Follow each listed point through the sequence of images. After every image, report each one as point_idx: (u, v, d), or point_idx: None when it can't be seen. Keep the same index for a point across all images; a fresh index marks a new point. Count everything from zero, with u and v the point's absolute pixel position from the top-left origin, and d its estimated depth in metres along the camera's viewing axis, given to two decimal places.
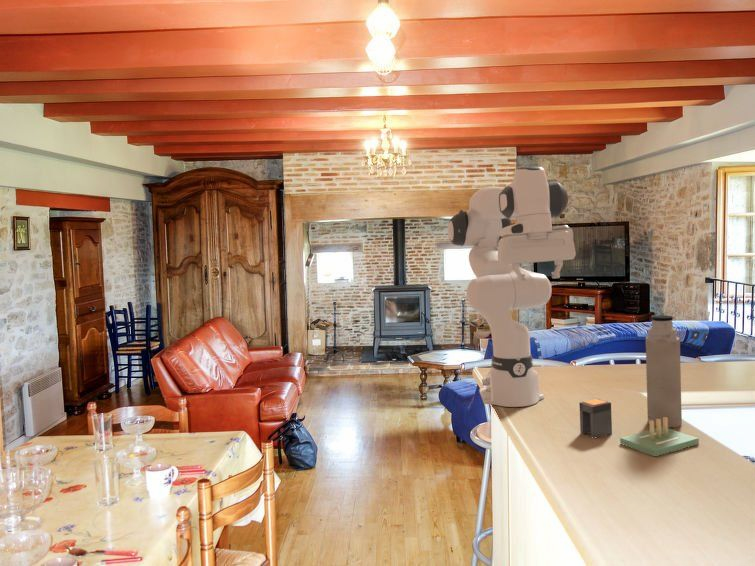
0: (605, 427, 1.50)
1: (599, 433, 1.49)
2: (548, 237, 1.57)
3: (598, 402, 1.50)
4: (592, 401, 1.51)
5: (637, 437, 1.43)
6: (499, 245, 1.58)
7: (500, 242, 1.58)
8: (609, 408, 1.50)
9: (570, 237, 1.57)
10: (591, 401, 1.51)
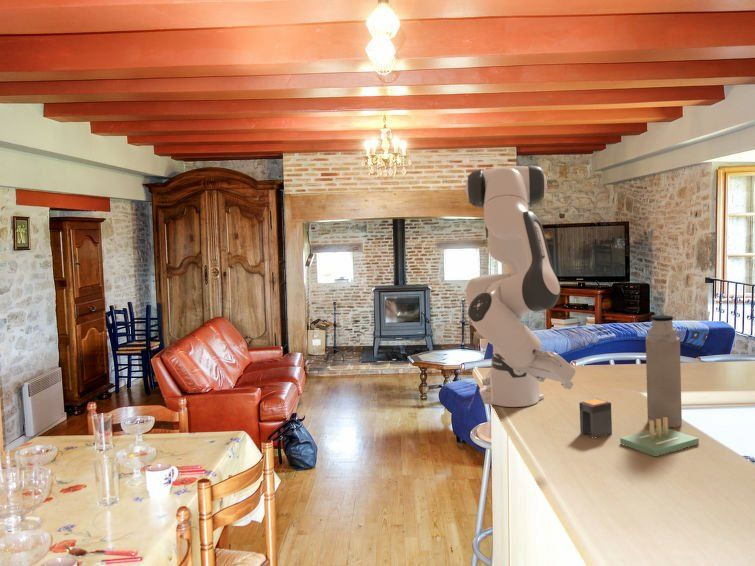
0: (605, 427, 1.50)
1: (599, 433, 1.49)
2: (533, 364, 1.38)
3: (598, 402, 1.50)
4: (592, 401, 1.51)
5: (637, 437, 1.43)
6: None
7: None
8: (609, 408, 1.50)
9: (551, 369, 1.33)
10: (591, 401, 1.51)
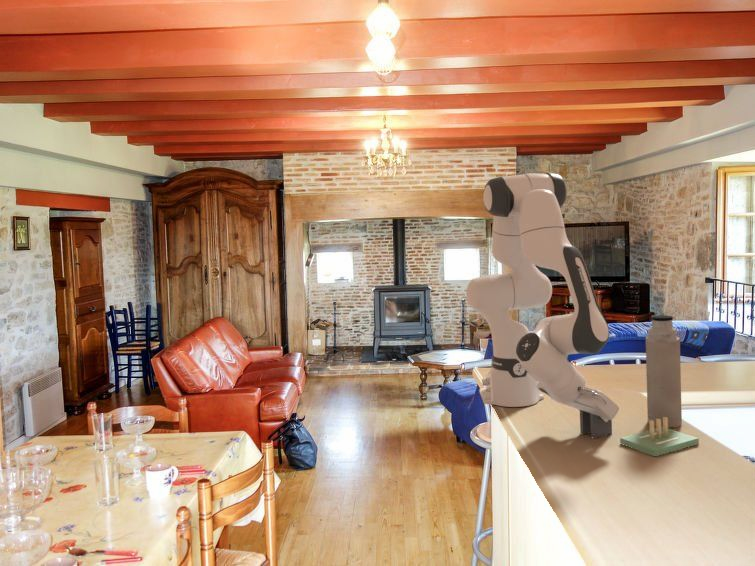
0: (605, 427, 1.50)
1: (599, 433, 1.49)
2: (577, 400, 1.45)
3: None
4: None
5: (637, 437, 1.43)
6: None
7: None
8: None
9: (597, 406, 1.39)
10: None
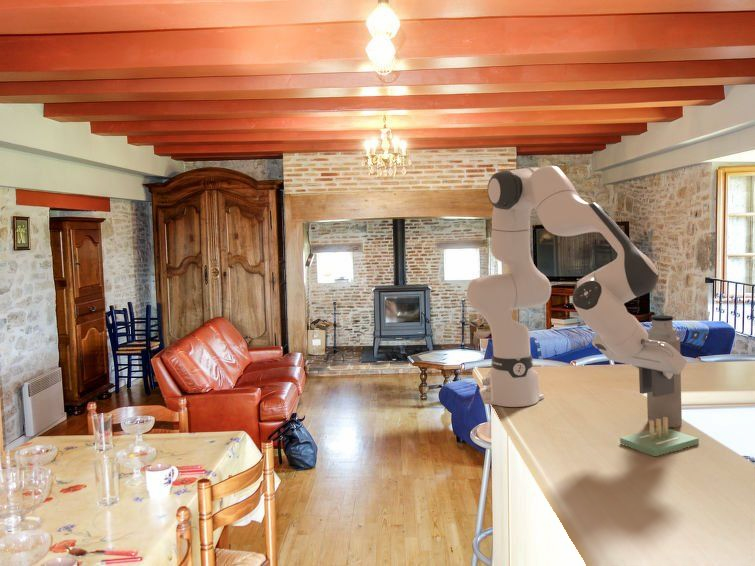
0: (667, 385, 1.39)
1: (661, 391, 1.38)
2: (639, 354, 1.34)
3: None
4: None
5: (637, 437, 1.43)
6: None
7: None
8: None
9: (663, 359, 1.29)
10: None
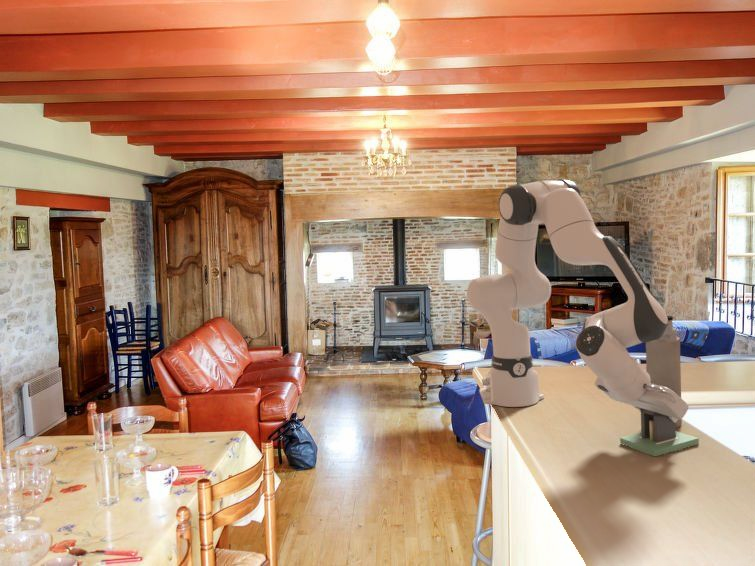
0: (669, 430, 1.40)
1: (663, 437, 1.39)
2: (641, 398, 1.35)
3: None
4: None
5: (637, 437, 1.43)
6: None
7: None
8: None
9: (665, 405, 1.30)
10: None
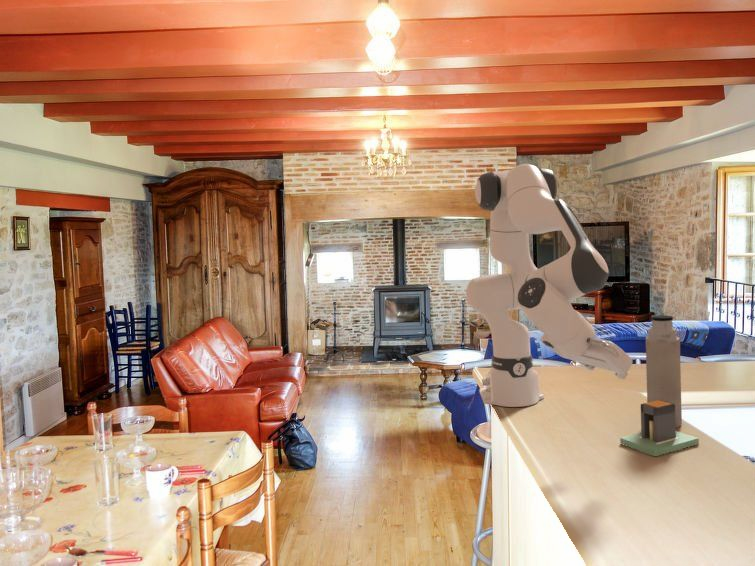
0: (669, 430, 1.40)
1: (663, 437, 1.39)
2: (586, 352, 1.30)
3: (661, 404, 1.41)
4: (654, 403, 1.42)
5: (637, 437, 1.43)
6: None
7: None
8: (673, 410, 1.40)
9: (608, 359, 1.25)
10: (653, 403, 1.42)
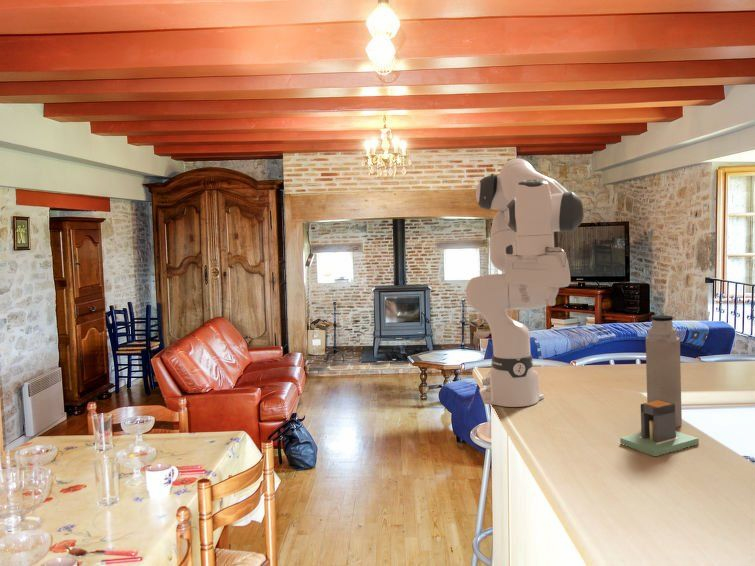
0: (669, 430, 1.40)
1: (663, 437, 1.39)
2: (537, 260, 1.43)
3: (661, 404, 1.41)
4: (654, 403, 1.42)
5: (637, 437, 1.43)
6: None
7: None
8: (673, 410, 1.40)
9: (555, 263, 1.37)
10: (653, 403, 1.42)
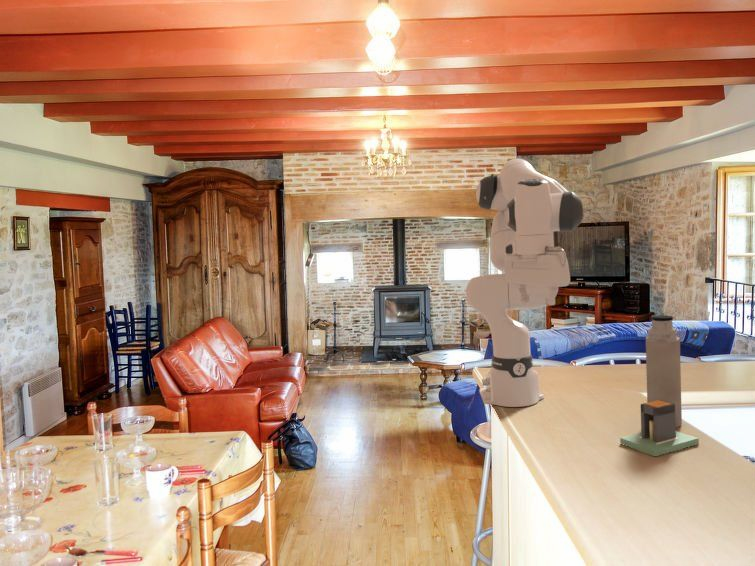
0: (669, 430, 1.40)
1: (663, 437, 1.39)
2: (537, 260, 1.43)
3: (661, 404, 1.41)
4: (654, 403, 1.42)
5: (637, 437, 1.43)
6: None
7: None
8: (673, 410, 1.40)
9: (554, 262, 1.37)
10: (653, 403, 1.42)
